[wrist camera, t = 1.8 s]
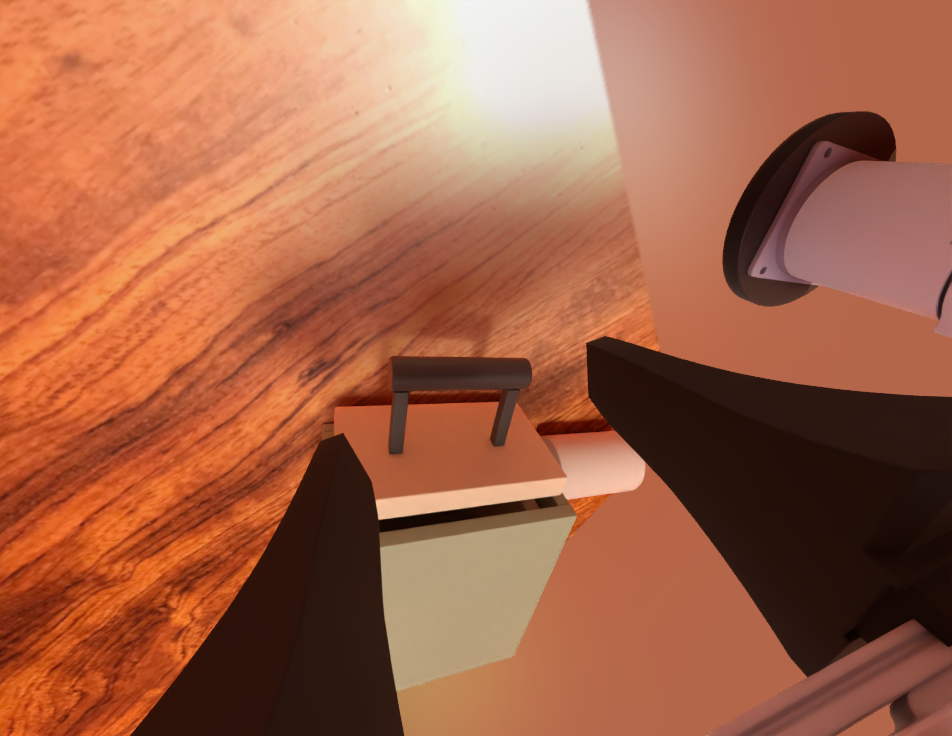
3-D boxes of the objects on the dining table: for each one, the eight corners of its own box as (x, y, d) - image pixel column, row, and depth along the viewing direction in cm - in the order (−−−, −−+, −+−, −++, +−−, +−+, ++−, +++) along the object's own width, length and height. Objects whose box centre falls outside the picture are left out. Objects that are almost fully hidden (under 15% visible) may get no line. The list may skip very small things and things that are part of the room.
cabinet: (322, 423, 20) (314, 558, 13) (513, 414, 24) (577, 515, 17) (325, 573, 26) (321, 714, 20) (476, 546, 30) (513, 656, 24)
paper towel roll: (529, 427, 26) (563, 449, 22) (607, 423, 28) (650, 441, 24) (525, 484, 26) (557, 515, 23) (601, 475, 29) (642, 501, 25)
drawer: (333, 319, 16) (331, 399, 11) (536, 329, 20) (602, 392, 15) (334, 559, 24) (333, 668, 19) (479, 535, 28) (509, 622, 23)
